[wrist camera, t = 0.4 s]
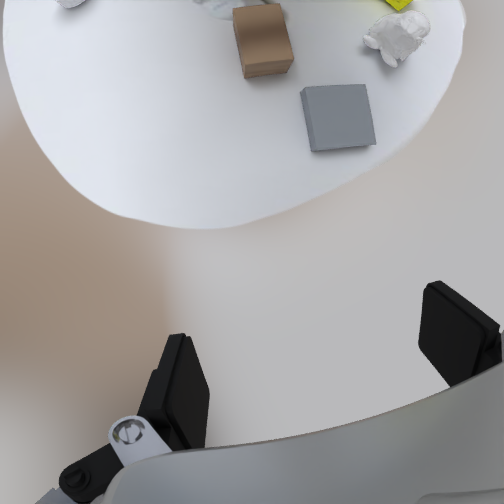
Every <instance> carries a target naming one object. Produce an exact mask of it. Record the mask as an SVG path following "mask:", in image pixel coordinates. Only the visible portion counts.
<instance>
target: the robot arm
mask: <svg viewBox="0 0 504 504" xmlns="http://www.w3.org/2000/svg"><path fill="white" fill-rule="evenodd" d="M499 328H500V325H499V324H498V323H497V322H495V321H494V320H493V319H491V318H490V317H489V316H487V315H486V314H485V313H484V312H483V311H481V310H480V309H479V308H477V307H476V306H475V305H473V304H472V303H471V302H469V301H468V300H467V299H465V298H464V297H463V296H461V295H460V294H459V293H457V292H456V291H455V290H453V289H452V288H450V287H449V286H448V285H446V284H445V283H443V282H442V281H435V282H432V283H428V284H427V286H426V288H425V289H424V291H423V303H422V314H421V324H420V333H419V340H418V345H419V348H420V350H421V351H422V353H423V354H424V355H425V356H426V357H427V359H428V360H429V361H430V362H431V363H432V365H433V366H434V367H435V368H436V370H437V371H438V372H439V373H440V375H441V376H442V377H443V378H444V380H445V381H446V382H447V384H448V385H449V386H450V388H448V389H446V390H443V391H441V392H439V393H436V394H434V395H431V396H429V397H427V398H424V399H421V400H419V401H416V402H414V403H411V404H408V405H405V406H403V407H400V408H397V409H394V410H391V411H388V412H385V413H382V414H379V415H376V416H373V417H370V418H366V419H363V420H359V421H356V422H352V423H348V424H345V425H341V426H337V427H333V428H329V429H325V430H320V431H316V432H311V433H306V434H302V435H296V436H291V437H286V438H280V439H274V440H268V441H261V442H254V443H246V444H238V445H229V446H220V447H210V448H205V437H206V426H207V417H208V407H209V397H210V393H209V388H208V385H207V382H206V379H205V377H204V374H203V371H202V368H201V365H200V363H199V359H198V357H197V354H196V351H195V348H194V345H193V342H192V339H191V337H190V336H187V337H186V335H185V334H184V333H181V334H173V335H169V337H168V340H167V343H166V345H165V348H164V351H163V354H162V357H161V359H160V362H159V365H158V368H157V369H155V370H153V372H152V374H151V377H150V379H149V382H148V385H147V388H146V391H145V393H144V396H143V399H142V402H141V404H140V407H139V411H138V413H137V416H127V417H124V418H122V419H119V420H118V421H116V422H115V423H114V424H113V425H112V426H111V428H110V430H109V433H108V438H109V441H110V443H109V444H107V445H105V446H104V447H102V448H100V449H98V450H97V451H95V452H93V453H91V454H90V455H88V456H86V457H84V458H82V459H81V460H79V461H77V462H75V463H73V464H71V465H69V466H68V467H67V468H65V469H64V471H63V472H62V473H61V475H60V477H59V486H60V487H59V488H58V489H57V490H55V489H54V488H52V489H51V490H50V491H49V492H47V493H46V494H45V495H44V496H43V497H42V498H41V499H40V500H39V501H37V502H36V503H35V504H504V330H503V332H502V333H499Z"/></svg>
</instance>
